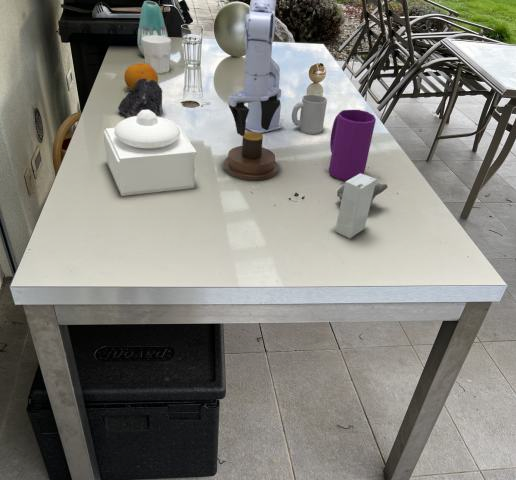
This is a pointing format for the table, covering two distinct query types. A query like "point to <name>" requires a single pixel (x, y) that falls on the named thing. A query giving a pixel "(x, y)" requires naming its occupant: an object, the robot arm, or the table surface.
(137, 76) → the fruit
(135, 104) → the crystal cluster
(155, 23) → the vase
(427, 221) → the table surface
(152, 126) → the butter dish
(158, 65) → the cup
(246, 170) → the pod stand
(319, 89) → the table surface
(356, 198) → the cosmetic box
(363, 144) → the mug
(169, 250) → the table surface
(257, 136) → the coffee pod
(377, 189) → the fossil
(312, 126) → the cup
